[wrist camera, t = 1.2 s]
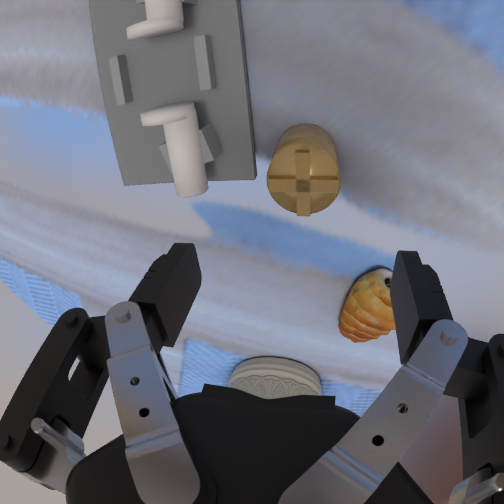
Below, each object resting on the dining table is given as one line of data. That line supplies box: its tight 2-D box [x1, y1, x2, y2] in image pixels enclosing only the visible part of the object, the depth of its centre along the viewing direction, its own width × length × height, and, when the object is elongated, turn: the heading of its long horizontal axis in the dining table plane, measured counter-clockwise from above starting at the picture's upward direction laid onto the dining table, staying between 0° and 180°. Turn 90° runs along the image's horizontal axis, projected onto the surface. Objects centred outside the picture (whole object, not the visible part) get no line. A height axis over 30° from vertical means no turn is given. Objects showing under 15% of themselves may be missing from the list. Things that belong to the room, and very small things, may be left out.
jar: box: [228, 357, 322, 399], centre depth 35 cm, size 13×13×18 cm
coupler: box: [267, 123, 341, 216], centre depth 21 cm, size 4×4×7 cm
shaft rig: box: [89, 0, 257, 198], centre depth 19 cm, size 19×12×5 cm, turn 5°
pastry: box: [338, 268, 396, 343], centre depth 29 cm, size 9×7×4 cm
